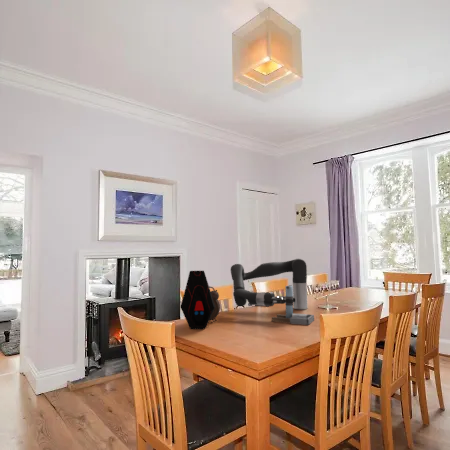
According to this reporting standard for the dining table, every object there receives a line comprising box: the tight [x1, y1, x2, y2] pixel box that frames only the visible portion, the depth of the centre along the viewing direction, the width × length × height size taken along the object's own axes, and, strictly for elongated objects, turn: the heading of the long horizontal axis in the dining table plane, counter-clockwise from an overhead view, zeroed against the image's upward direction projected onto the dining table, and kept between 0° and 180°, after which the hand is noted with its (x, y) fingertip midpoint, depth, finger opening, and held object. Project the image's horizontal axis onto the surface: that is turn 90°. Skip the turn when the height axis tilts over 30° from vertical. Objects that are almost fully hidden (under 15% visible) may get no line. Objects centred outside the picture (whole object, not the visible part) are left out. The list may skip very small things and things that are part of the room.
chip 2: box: [299, 313, 308, 319], centre depth 187 cm, size 4×4×4 cm
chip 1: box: [292, 312, 301, 318], centre depth 189 cm, size 4×4×4 cm
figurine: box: [180, 270, 215, 330], centre depth 180 cm, size 18×8×30 cm, turn 84°
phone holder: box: [248, 291, 276, 308], centre depth 246 cm, size 18×10×12 cm
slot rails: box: [271, 313, 290, 324], centre depth 192 cm, size 10×11×2 cm
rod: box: [284, 284, 294, 318], centre depth 191 cm, size 6×4×18 cm
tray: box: [289, 314, 315, 326], centre depth 188 cm, size 13×10×3 cm
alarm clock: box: [209, 285, 221, 323], centre depth 193 cm, size 15×7×20 cm, turn 81°
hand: (293, 300), depth 190 cm, fingers closed on rod, 4 cm apart
